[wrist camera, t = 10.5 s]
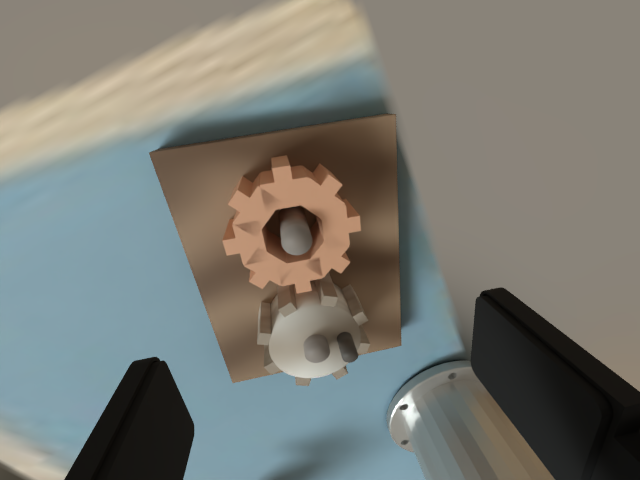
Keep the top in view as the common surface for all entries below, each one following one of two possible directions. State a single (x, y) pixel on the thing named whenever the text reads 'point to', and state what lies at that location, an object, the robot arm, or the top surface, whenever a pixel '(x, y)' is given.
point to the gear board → (252, 156)
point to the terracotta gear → (266, 248)
